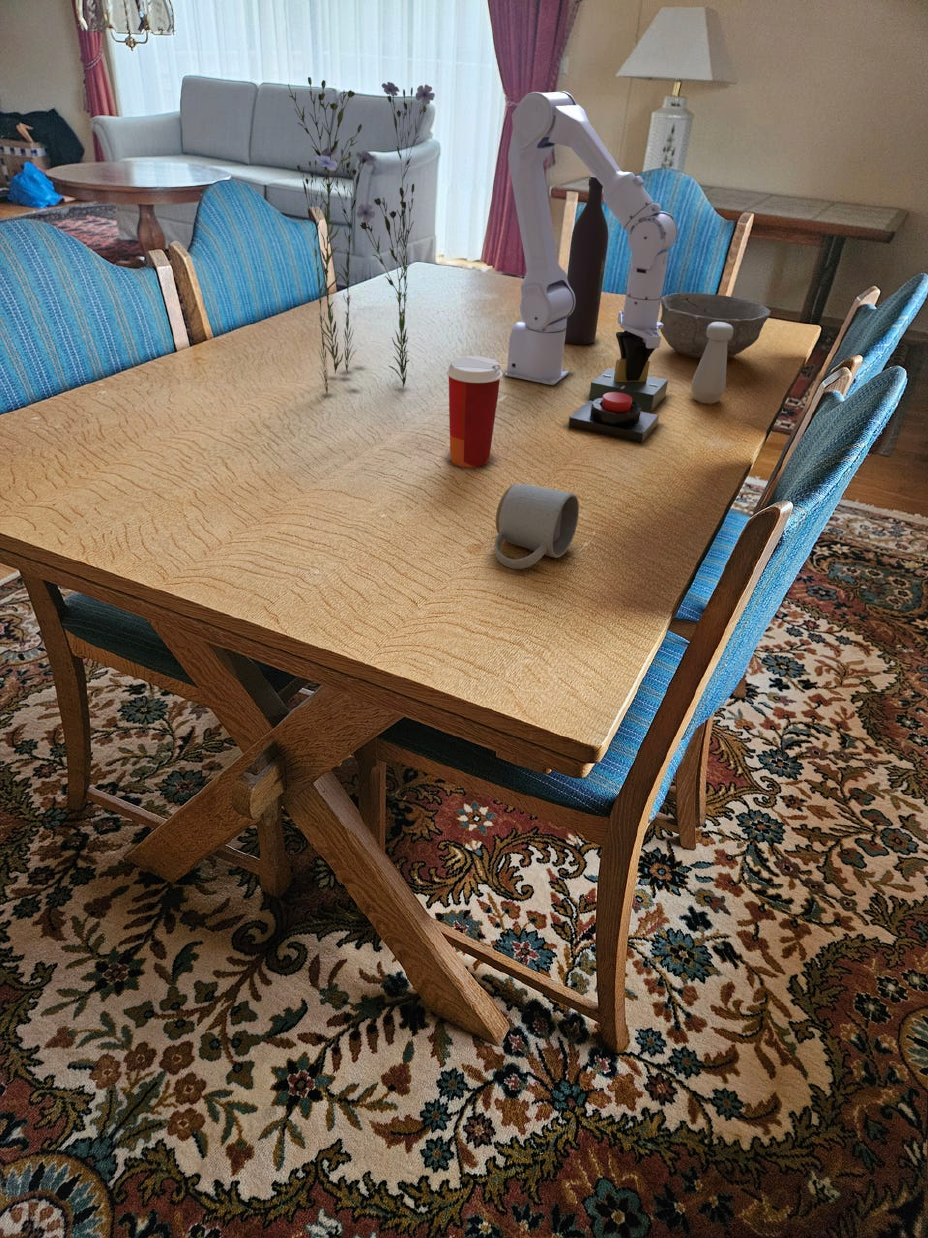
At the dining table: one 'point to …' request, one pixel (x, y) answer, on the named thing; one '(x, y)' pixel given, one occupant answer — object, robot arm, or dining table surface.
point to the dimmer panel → (630, 389)
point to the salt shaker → (712, 365)
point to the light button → (616, 401)
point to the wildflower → (360, 213)
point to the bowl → (709, 321)
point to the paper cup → (472, 408)
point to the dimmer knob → (621, 371)
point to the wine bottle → (587, 267)
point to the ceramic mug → (535, 522)
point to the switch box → (614, 421)
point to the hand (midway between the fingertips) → (630, 377)
